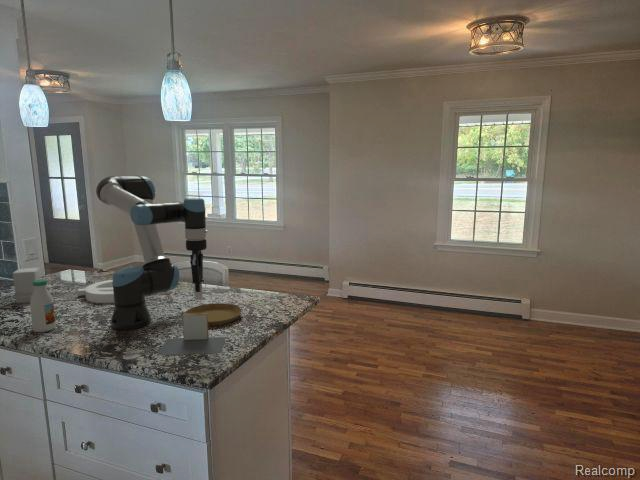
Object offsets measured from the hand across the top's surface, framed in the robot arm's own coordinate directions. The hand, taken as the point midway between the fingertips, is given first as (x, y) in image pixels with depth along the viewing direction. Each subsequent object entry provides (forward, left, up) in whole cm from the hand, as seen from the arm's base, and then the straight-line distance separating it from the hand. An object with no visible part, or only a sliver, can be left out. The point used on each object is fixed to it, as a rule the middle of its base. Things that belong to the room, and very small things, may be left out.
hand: (198, 299), depth 160 cm
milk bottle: (-62, +9, -14) cm, 65 cm away
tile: (0, -7, -14) cm, 15 cm away
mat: (0, -12, -14) cm, 19 cm away
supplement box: (-89, +48, -14) cm, 102 cm away
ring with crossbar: (-51, +55, -15) cm, 76 cm away
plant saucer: (+3, +17, -15) cm, 22 cm away
